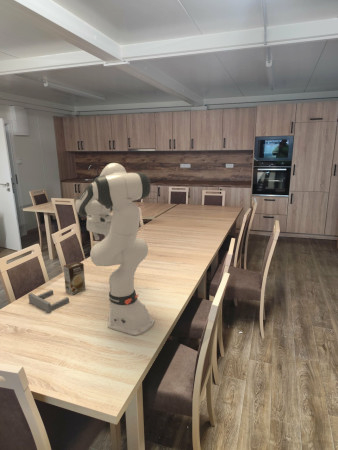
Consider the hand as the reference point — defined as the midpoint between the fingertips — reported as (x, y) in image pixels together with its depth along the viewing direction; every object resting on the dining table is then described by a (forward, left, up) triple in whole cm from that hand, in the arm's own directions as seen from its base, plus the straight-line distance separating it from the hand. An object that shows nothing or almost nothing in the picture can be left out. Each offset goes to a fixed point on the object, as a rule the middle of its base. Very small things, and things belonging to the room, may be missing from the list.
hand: (101, 240), depth 161 cm
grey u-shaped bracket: (+12, +27, -29) cm, 42 cm away
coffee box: (+12, +11, -29) cm, 34 cm away
